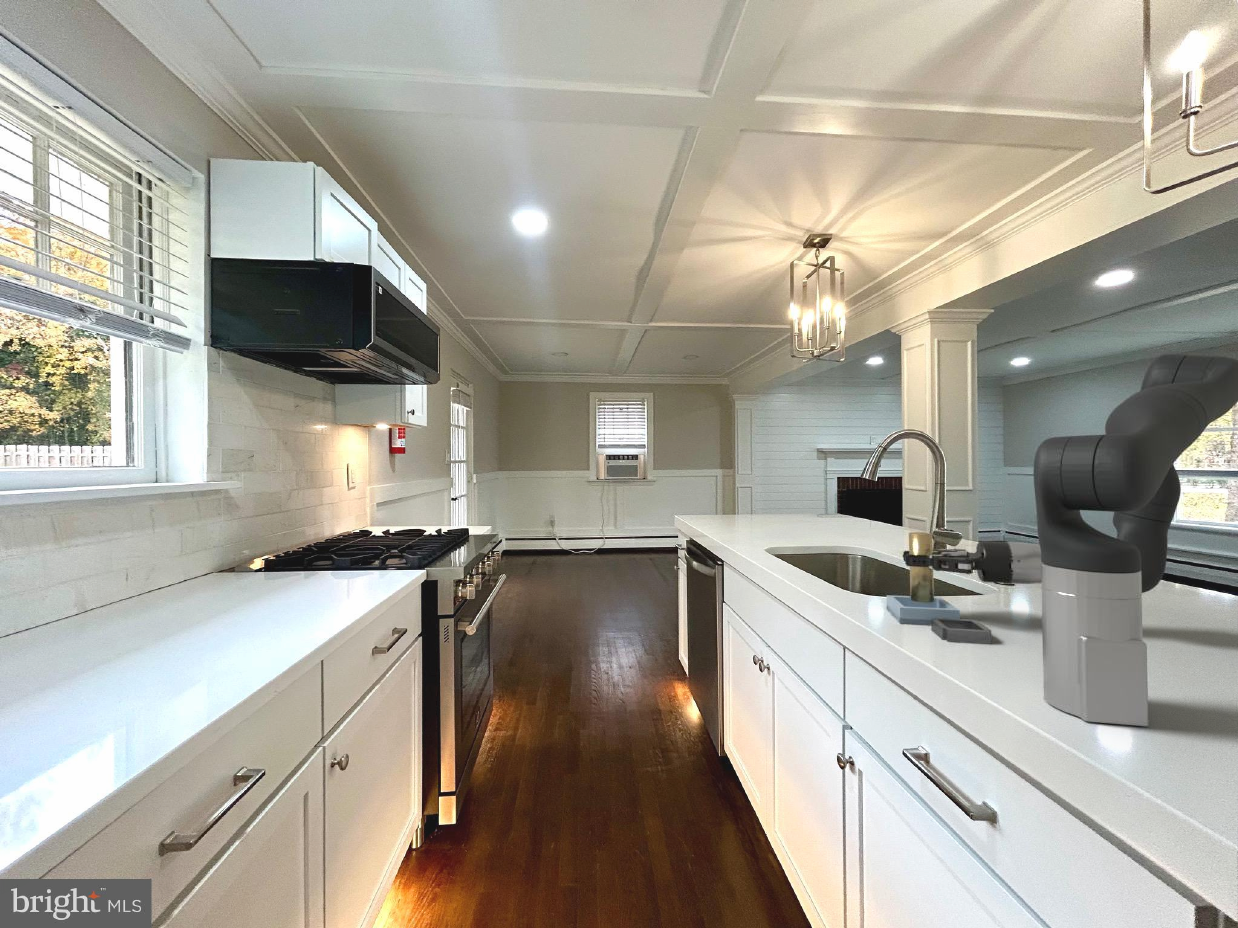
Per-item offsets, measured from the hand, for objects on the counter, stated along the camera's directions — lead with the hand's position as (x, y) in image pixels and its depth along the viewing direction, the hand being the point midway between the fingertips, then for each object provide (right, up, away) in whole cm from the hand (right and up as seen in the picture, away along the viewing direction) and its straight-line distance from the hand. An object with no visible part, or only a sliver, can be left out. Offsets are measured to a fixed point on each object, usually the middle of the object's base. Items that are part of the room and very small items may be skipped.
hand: (905, 558), depth 106 cm
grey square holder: (+3, -11, -13) cm, 17 cm away
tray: (+2, -11, -1) cm, 12 cm away
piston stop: (+3, -8, -1) cm, 8 cm away
